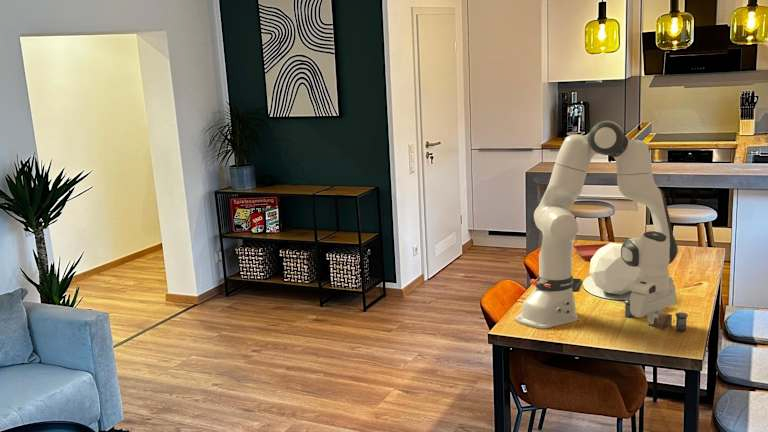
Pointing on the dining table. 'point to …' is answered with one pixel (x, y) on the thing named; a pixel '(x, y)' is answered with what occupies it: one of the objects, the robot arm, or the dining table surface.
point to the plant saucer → (588, 250)
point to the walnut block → (663, 321)
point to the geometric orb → (612, 270)
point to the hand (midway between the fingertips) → (653, 323)
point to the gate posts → (680, 317)
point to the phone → (576, 284)
